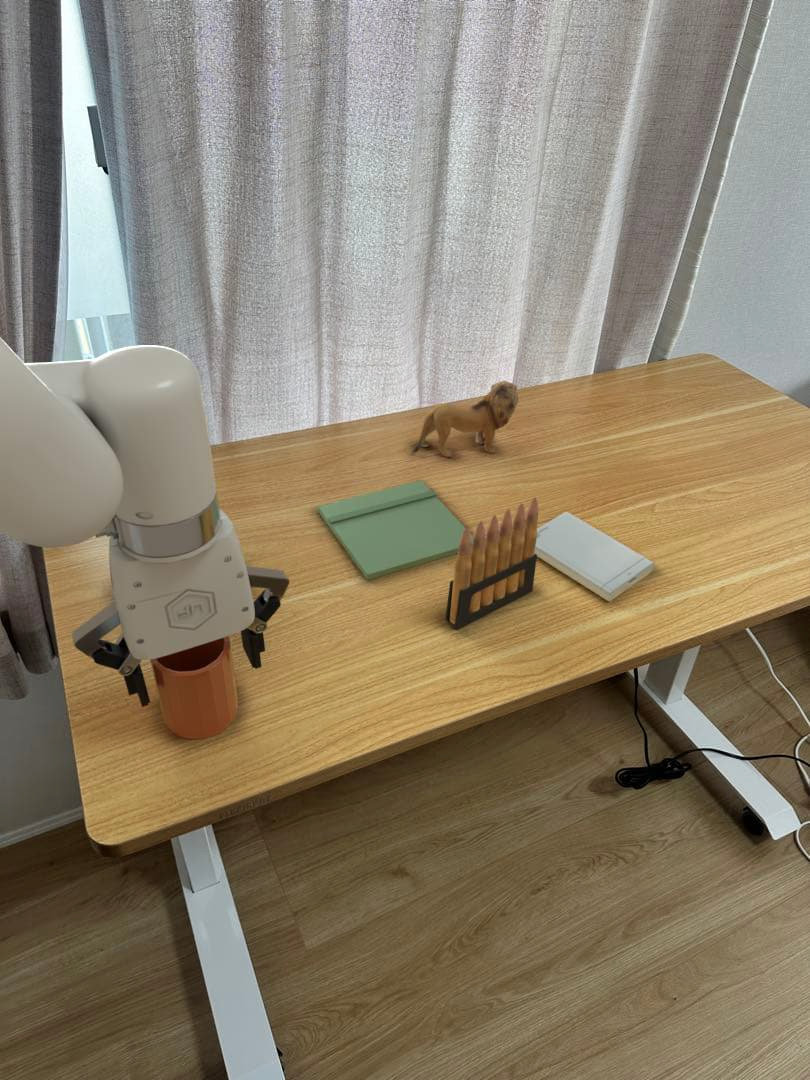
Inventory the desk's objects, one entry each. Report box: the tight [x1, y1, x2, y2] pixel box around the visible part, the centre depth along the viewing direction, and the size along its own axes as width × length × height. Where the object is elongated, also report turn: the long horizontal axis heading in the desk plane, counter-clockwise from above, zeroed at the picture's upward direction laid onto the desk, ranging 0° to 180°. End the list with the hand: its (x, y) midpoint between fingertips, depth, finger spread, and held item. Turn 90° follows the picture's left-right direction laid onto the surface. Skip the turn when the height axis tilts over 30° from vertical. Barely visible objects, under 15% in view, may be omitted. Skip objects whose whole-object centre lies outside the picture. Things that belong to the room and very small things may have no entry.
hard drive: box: [534, 511, 656, 602], centre depth 91 cm, size 2×8×12 cm
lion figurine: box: [411, 380, 519, 458], centre depth 107 cm, size 15×5×9 cm, turn 110°
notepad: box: [317, 479, 474, 581], centre depth 94 cm, size 14×14×1 cm
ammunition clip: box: [444, 497, 539, 630], centre depth 81 cm, size 11×2×12 cm, turn 127°
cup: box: [149, 636, 239, 740], centre depth 70 cm, size 6×6×8 cm
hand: (198, 675), depth 70 cm, fingers open, 9 cm apart
